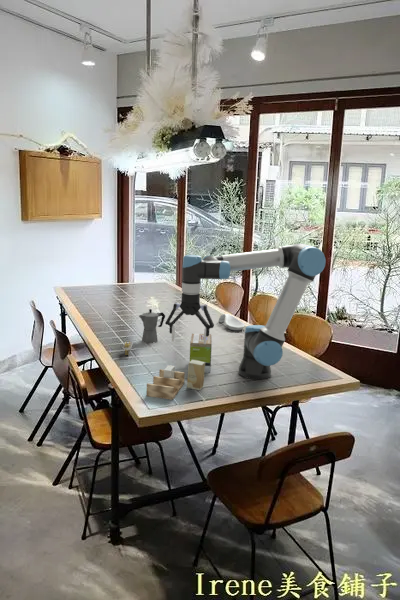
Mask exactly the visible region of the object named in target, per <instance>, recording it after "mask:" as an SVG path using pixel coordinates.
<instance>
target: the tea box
mask: <svg viewBox="0 0 400 600" xmlns="http://www.w3.org/2000/svg"><path fill="white" fill-rule="evenodd" d="M190 337H191V338H190V343H189V362H190V361H191V360H197V361H202V362H205V373H204V374H206V373H207V374H210V373H211V366H212V345H213V344H212V342H213V341H212V333H211V334H210V333H209V336H207V338H206V344H204V333H191V336H190Z"/></svg>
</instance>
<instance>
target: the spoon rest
mask: <svg viewBox="0 0 400 600" xmlns="http://www.w3.org/2000/svg"><path fill="white" fill-rule="evenodd" d="M218 323H225V325H226V327H227V328H228V329H229V330H231V331H235V332H236V331H241V330H243V329H244V328H246V327H245V326H246V324H245V323H244V322H242V321H240V320H239V319H238V318H236V317H235V316H234V315H231V314H230V313H222V314H220V316H219V318H218Z"/></svg>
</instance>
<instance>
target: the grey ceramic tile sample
mask: <svg viewBox="0 0 400 600" xmlns="http://www.w3.org/2000/svg"><path fill="white" fill-rule="evenodd" d="M163 370H164V377H165V378H172V379H174V377H175V371H176V366H175V365H172V364H170V365H169V364H167V365H166V367H165V368H164V369H163Z"/></svg>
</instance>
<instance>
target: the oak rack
mask: <svg viewBox="0 0 400 600" xmlns="http://www.w3.org/2000/svg"><path fill="white" fill-rule="evenodd" d="M158 375H159V376H158ZM158 375H157V376H155V375H154V376H153V377H152V378H153V381H152V383H146V397H150V398H151V397H152V398H157V399H164V400H165V399H166V400H173V401H174V399H175V397H176V396H177V395H178V394H179V392H180V391H181V389H182V387H183V386H184V384H185V375H186V374H185V372H182V371H176V370H175V377H174V379H172V378H165V377H164V369H159V373H158Z"/></svg>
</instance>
